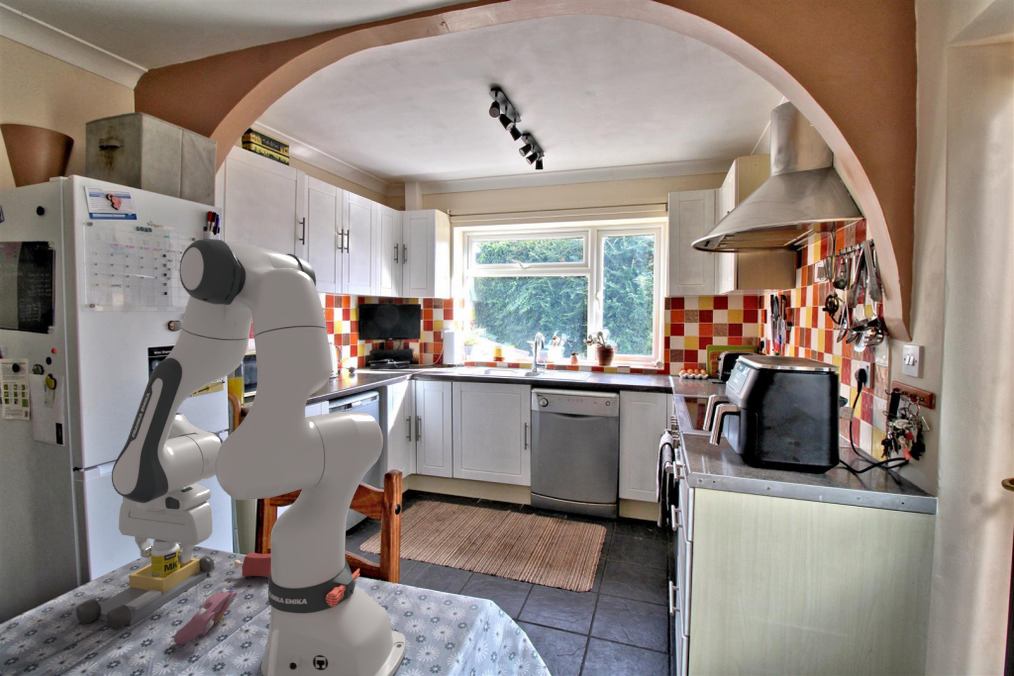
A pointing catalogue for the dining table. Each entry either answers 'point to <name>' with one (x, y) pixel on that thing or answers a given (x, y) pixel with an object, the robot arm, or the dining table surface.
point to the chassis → (144, 594)
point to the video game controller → (206, 616)
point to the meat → (255, 565)
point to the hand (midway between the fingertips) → (165, 558)
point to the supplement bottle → (164, 558)
